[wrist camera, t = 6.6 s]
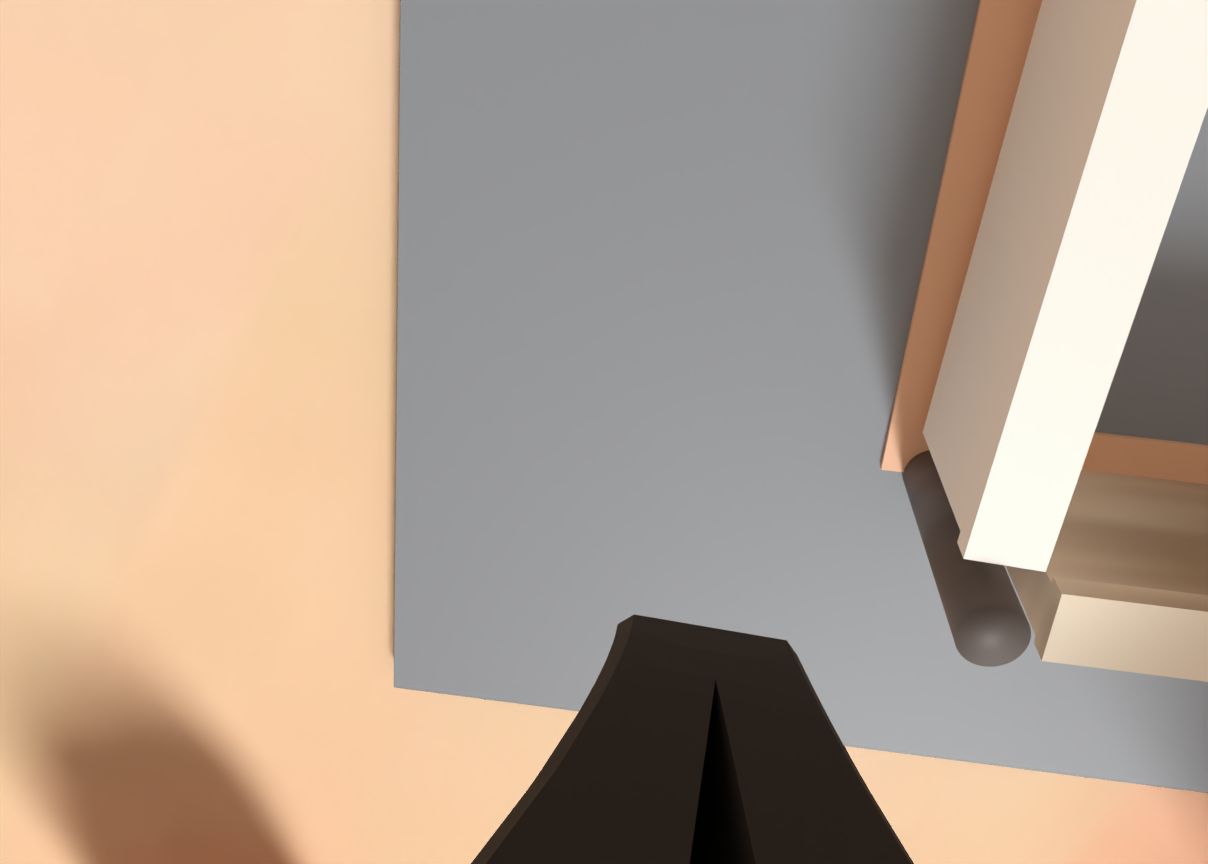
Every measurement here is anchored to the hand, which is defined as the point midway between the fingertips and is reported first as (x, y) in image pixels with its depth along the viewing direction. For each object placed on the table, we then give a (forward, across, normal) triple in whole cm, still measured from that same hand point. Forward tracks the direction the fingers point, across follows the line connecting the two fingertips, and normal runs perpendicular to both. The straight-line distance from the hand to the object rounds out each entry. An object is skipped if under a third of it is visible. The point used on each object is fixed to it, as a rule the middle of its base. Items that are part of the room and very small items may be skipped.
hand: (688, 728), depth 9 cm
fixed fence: (+9, -7, +1) cm, 11 cm away
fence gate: (+9, -4, -3) cm, 10 cm away
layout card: (+9, -3, 0) cm, 10 cm away
